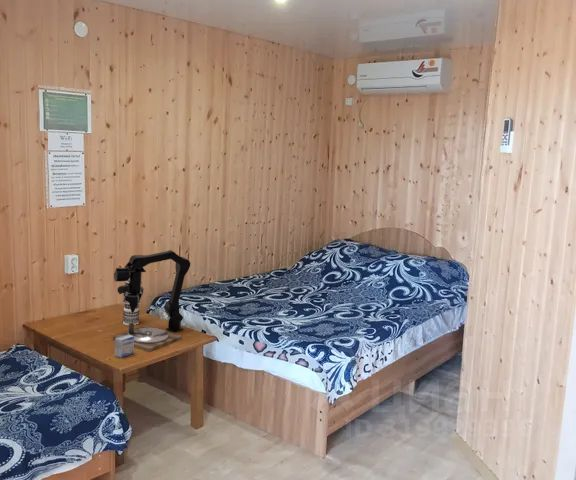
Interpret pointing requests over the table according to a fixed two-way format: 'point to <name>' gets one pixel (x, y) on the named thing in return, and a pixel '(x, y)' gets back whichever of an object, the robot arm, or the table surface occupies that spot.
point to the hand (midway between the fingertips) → (133, 309)
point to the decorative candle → (128, 315)
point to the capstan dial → (147, 334)
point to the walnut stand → (153, 346)
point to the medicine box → (124, 346)
